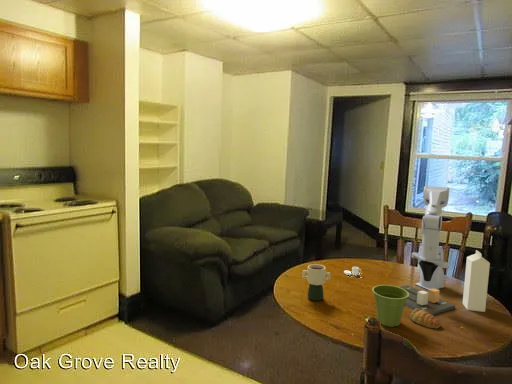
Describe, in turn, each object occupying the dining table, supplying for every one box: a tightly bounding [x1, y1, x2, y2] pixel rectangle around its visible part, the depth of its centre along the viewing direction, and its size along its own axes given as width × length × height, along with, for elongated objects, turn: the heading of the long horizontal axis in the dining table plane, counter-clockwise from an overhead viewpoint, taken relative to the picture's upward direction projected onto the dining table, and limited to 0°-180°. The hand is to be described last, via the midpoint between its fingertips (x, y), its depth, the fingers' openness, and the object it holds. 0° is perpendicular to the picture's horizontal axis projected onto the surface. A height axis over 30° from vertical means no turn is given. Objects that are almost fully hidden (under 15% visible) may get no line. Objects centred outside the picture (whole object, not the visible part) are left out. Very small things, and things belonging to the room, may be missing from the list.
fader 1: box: [417, 290, 429, 305], centre depth 136 cm, size 3×2×4 cm
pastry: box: [409, 308, 442, 329], centre depth 124 cm, size 9×7×4 cm
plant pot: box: [372, 284, 409, 328], centre depth 124 cm, size 12×12×11 cm
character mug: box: [301, 263, 331, 301], centre depth 142 cm, size 11×7×13 cm, turn 77°
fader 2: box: [428, 288, 441, 303], centre depth 139 cm, size 3×2×4 cm
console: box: [399, 284, 456, 315], centre depth 143 cm, size 15×22×1 cm
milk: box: [462, 249, 491, 313], centre depth 136 cm, size 6×6×22 cm
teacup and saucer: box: [343, 266, 363, 279], centre depth 171 cm, size 9×8×4 cm
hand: (427, 280), depth 138 cm, fingers closed
